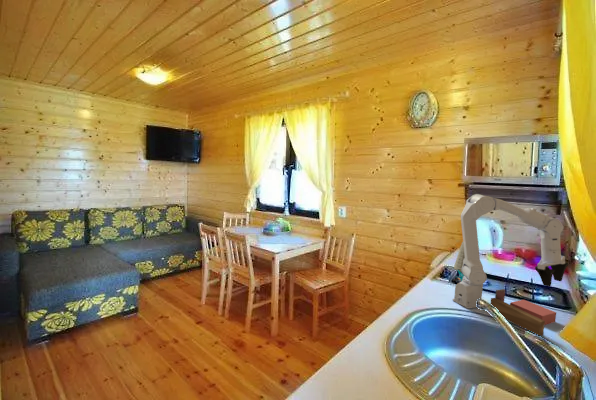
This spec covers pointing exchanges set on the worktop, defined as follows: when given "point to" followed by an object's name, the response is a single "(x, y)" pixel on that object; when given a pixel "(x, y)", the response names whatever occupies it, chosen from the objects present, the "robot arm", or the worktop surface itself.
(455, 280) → the stick construction toy
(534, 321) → the shelf wall
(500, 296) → the bookend
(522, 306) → the reddish rectangular block
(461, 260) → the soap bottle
